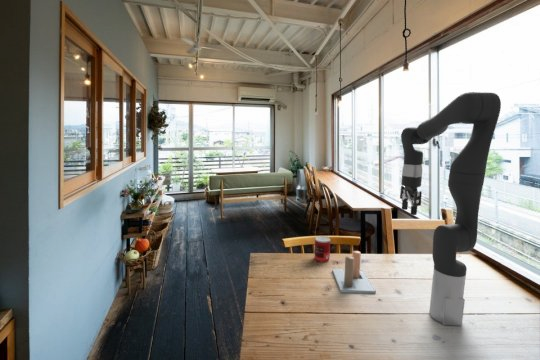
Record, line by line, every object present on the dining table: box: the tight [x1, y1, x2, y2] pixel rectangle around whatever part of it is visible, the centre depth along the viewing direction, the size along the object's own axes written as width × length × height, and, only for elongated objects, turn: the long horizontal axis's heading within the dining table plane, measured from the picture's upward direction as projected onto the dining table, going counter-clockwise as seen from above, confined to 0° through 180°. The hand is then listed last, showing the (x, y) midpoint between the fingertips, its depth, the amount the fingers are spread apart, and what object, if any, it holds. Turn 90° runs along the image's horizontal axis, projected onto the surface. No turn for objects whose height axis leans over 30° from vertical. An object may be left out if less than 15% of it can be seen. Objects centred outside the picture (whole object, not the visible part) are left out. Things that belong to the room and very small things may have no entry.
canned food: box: [314, 235, 331, 263], centre depth 141 cm, size 8×8×11 cm
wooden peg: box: [351, 250, 362, 279], centre depth 122 cm, size 3×3×12 cm
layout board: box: [332, 255, 377, 294], centre depth 119 cm, size 18×14×13 cm
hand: (408, 212), depth 119 cm, fingers open, 8 cm apart
